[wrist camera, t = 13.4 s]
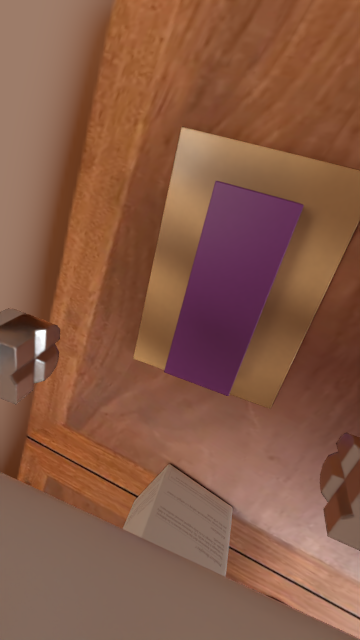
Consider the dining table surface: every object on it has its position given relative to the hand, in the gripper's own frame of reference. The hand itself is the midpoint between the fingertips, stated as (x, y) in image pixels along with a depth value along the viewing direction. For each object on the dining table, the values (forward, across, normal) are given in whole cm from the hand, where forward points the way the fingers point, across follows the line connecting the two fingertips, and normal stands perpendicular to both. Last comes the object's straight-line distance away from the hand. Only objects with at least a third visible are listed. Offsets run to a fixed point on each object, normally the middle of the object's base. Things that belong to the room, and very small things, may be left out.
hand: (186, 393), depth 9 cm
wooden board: (+13, 0, +1) cm, 13 cm away
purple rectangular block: (+13, 0, +1) cm, 13 cm away
